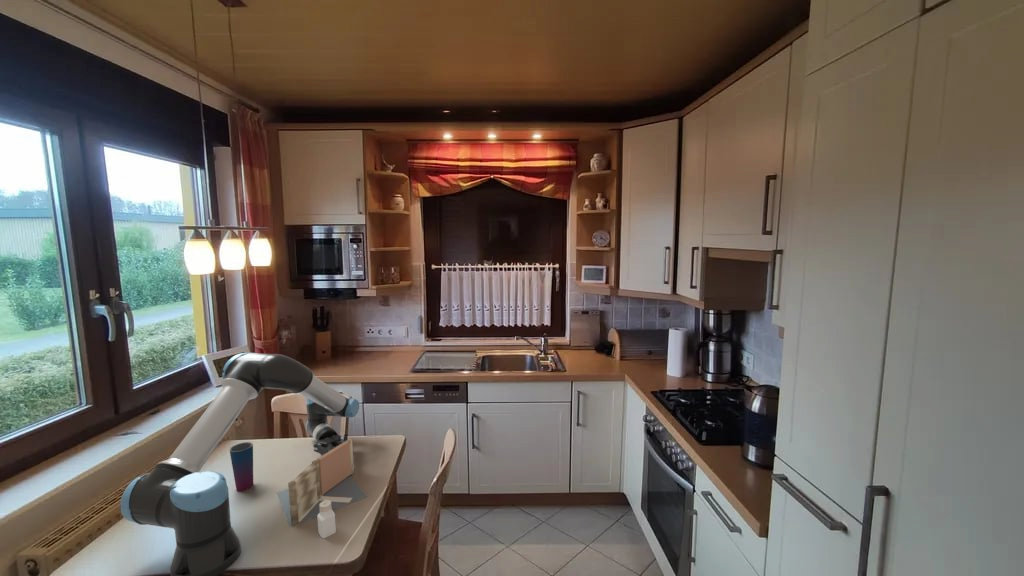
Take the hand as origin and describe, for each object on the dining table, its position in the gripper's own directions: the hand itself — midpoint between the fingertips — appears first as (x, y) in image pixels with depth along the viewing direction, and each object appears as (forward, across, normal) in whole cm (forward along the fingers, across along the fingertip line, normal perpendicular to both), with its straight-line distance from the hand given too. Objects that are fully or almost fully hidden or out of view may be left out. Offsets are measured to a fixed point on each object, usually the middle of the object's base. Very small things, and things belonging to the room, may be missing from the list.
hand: (345, 459), depth 149 cm
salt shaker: (+27, +15, -6) cm, 32 cm away
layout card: (+7, +11, -6) cm, 14 cm away
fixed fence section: (+12, +17, -5) cm, 22 cm away
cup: (-16, +29, -6) cm, 34 cm away
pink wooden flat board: (+4, +4, -5) cm, 8 cm away
